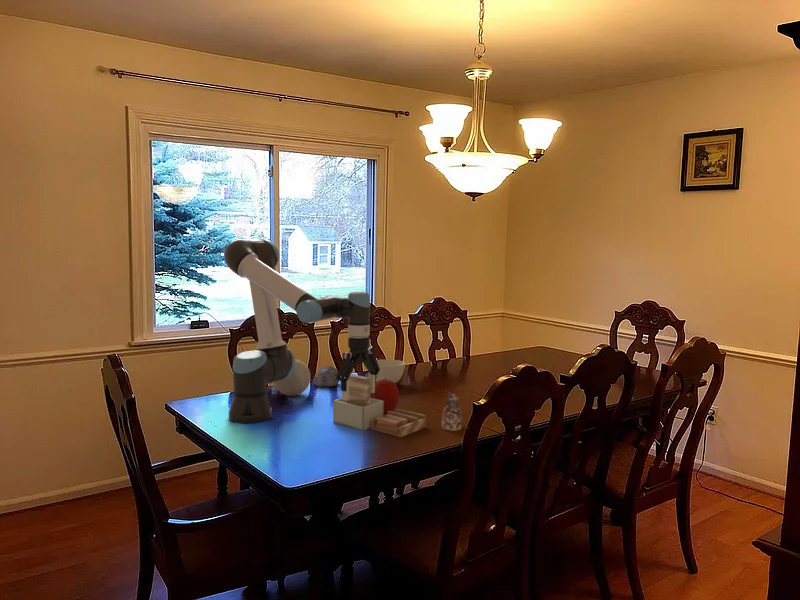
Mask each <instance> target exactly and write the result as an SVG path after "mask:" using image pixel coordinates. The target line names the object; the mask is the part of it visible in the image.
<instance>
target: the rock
mask: <svg viewBox="0 0 800 600" xmlns="http://www.w3.org/2000/svg"><path fill="white" fill-rule="evenodd" d="M338 371H339V370H338V369H337V368H334V367H333V366H331V365H328V366H324V367H321V368H320V369H319V370H317V372H315V375H314V377H313V379H312V381H313V383H314V386H317V387H319V388H324V387H326V388H327V387H328V388H329V387H335V386H337V385H338V384H339V382H340V381H339V380H336V377H337V374H338Z"/></svg>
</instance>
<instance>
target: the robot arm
mask: <svg viewBox="0 0 800 600" xmlns="http://www.w3.org/2000/svg"><path fill="white" fill-rule="evenodd" d="M223 257H224V261H225V264H226V265H227V268H228V269H230V270H231V271H232V272H233V273H234V274H236V275H237V276H239V278H243V279H245V278H246V279H247V280H248V281H249V287H250V294H251V299H252V301H251V302H252V307H253V313H254V314H253V315H254V319H255V326H256V332H257V339H258V344H257V346H255V350H252V349H251V350H249V351H243V352H239V353H238V354H236V355H235V356H234V357H233V361H232V362H233V363H232V364H233V365H232V383H233V384H232V385H233V397H232V401H231V403H230V404H231V405H230V409H229V411H228V419H229V420H230V421H231V422H235V423H239V424H240V423H241V424H252V423H253V424H255V423H260V422H265V421H267V420H269V419H271V418H272V416H273V410H272V407H271V403H270V401H269V398H268V395H267V393H268V392H267V391H268V390H267V389H268V388H267V386H268V384H271V383H274V382H275V381H279V380H282V379H284V378H286V377H288V376H289V375H291V373H292V372H293V370H294V368H295V359H296V357H295V354H294V353H293V352H292V350H291V349H290V348H288V344H287V342H286V341H284V340H283V338H282V331H281V326H280V325H281V324H280V320H279V312H278V308H277V307H278V305H277V301H276V300H279V301H280V302H282V303H283V304H284V305H286V306H287V307H289V308H290V309H292V310H293V311H295V312H296V316H297V318H298V320H299V321H300V322H302V323H305V324H313V323H317V322H321V321H324V320H331V319H335V318H336V319H338V318H339V319H346V320H348V321H347V322H348V324H347V335H348V336H349V337H348V339H347V341H348V342H347V343H348V344H347V347H348V348H349V352H345V351H344V352H343V353H342V359H341V363H340V365H339V369H338V370H337V371H338V374H337V377H336V380H339V382H340V390H341V398H342V400H347V401H348V400H349V382H348V379H349V377H350V375H351V374H353V373H352V372H353V371H354V369H355V366H357V365H358V364H361V363H363V365H364V367H365V368H366V369H367V372H369V373H368V374H367V378H371V394H372V393H375V383H376V379H375V378H376V375H378V372H379V371H380V368H379V365H378V363H377V360H378V359H377V357H376V354H375V348H374V347H370V345H371V343H370V342H371V340H370V339H371V338H370V335H371V334H370V329H371V328H370V327H371V324H370V323H371V321H370V319H371V317H370V316H371V298H370V297H371V296H370V293H368V292H364V291H351V292H349V293H348V295H347V297H346V296H333V295H322V296H320V298H316V297H315V296H313V295H312V294H310V293H309V292H307V291H306V290H304V289H303V288H301V287H300V286H299V285H297V284H295V283H294V282H293V281H291V280H289V279H288V278H287V277H285V276H283V275H282V274H281V273H279V272H278V271H276V268H275V267H277V265H278V263H279V260H280V252H279V250H278V247H277V245H276V244H274V242H272V241H271V240H270V239H269V240H268V239H264V238H238V239H235V240H232V241H231V242H230V243H229V244H228V245H226V248H225V250H224V254H223ZM375 367H376V368H375Z"/></svg>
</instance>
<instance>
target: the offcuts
mask: <svg viewBox="0 0 800 600" xmlns="http://www.w3.org/2000/svg"><path fill="white" fill-rule="evenodd" d="M406 424H409V423H407V419H405V418H401V417H397V416H393V415H389V414H388V415H385V416H382V417H380V418H377V423H376V428H380V429H383V430H387V431H391V432H395V433H399V427H401V426H404V425H406Z"/></svg>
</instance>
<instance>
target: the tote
mask: <svg viewBox="0 0 800 600" xmlns="http://www.w3.org/2000/svg"><path fill="white" fill-rule="evenodd" d="M332 403H333V404H332V405H333V410H332V411H333V412H332V413H333V414H332V415H333V418H332V421H333V422H332V423H334V424H338V425H341V426H344V427H347V428H348V427H349V428H352V429H356V430H358V431H359V430H360V431H366V430H369V429H371V420H373V419H375V418H378V417H381V416H384V401H381V400H377V399H373V398H372V397H371V405H368V406H364V407H361V406H357V405H353V404H349V403H347V400H342V397H340V398H337V399H334V400H333V401H332Z"/></svg>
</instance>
